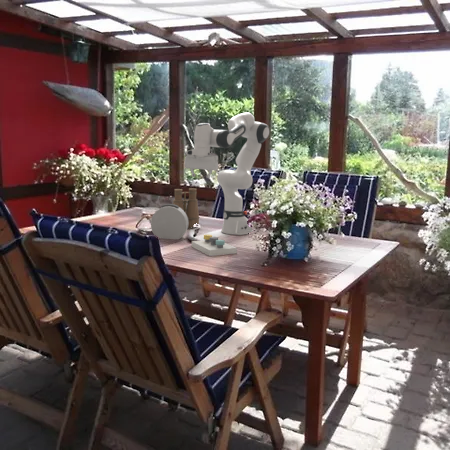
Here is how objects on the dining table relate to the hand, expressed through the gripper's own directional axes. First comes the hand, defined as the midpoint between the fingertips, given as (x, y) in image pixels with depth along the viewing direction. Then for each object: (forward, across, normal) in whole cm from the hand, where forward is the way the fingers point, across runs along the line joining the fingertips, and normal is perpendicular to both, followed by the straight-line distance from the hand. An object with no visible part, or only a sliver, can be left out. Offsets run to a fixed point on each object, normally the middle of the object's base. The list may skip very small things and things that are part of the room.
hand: (200, 177), depth 296 cm
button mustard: (+35, -10, +7) cm, 38 cm away
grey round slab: (+38, +20, -1) cm, 43 cm away
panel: (+37, -16, +11) cm, 42 cm away
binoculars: (+37, +29, -32) cm, 56 cm away
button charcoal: (+35, -16, +11) cm, 41 cm away
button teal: (+35, -22, +15) cm, 44 cm away
